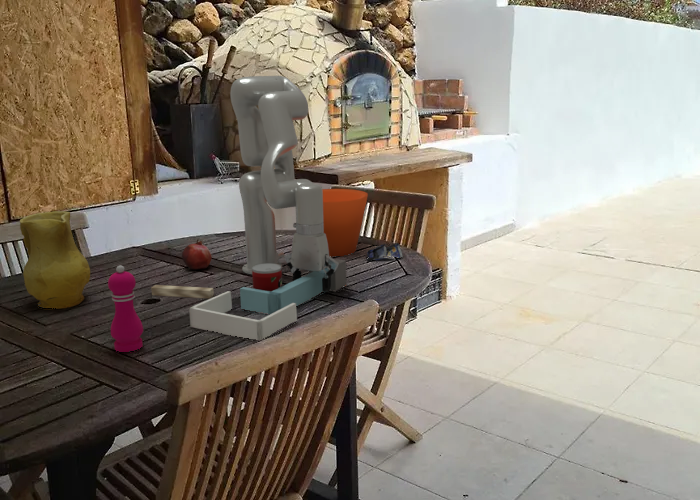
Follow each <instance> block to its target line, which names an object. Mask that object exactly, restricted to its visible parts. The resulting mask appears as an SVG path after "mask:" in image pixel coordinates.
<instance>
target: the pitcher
mask: <svg viewBox="0 0 700 500" xmlns="http://www.w3.org/2000/svg"><path fill="white" fill-rule="evenodd" d="M19 229H20V233H21V236H23V243H24V246H25V249H27V251H26V252H27V255H28V259H27V262H26V264H25V265H24V266H23V267H24V268H23V272H22V273H23V274H22V275H23V279H24V280H23V281H24V286H25V288H26V291H27V293H28V294H29V295H30V296H32V297H33V298H35V299H36V300H38V302H37V304H40V303H41V304H40V305H38V306H40V307H43V308H52V309H51V310H55V308H56V310H57V309H61V310H62V309H67V308H72V307H74V306H78V305H79V304H80V305H81V303H82V302H84V300H85V298H86V296H85V295H84V294H83V292H84V288H85V287H86V285H88V283H89V282H90V279H91V267H90V265H89V262H88V259H86V257H85V256H84V255H83V254H82V252H81V251H80V250H79V248H78V247H77V245H76V242H75V240H74V236H73V231H72V228H71V212H70V211H65V210H64V211H60V210H58V211H47V212H38V213H34V214H29V215H27V216H25V217H23V218H21V219H20V220H19ZM38 306H37V307H38ZM53 308H54V309H53Z"/></svg>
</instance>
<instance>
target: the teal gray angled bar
mask: <svg viewBox="0 0 700 500" xmlns="http://www.w3.org/2000/svg"><path fill="white" fill-rule="evenodd" d="M333 259H334V260H335V261H337V262H338V263H339V265H338V267H337V269H336V272H335V273H334V274H333V275H332V276H331V287H330V289H331V290H337V289H339V288H341V287H343V286H345V285H346V286H347V260H344V259H337V258H333ZM329 269H331V264H329ZM326 273H327V272H326ZM322 278H324V276H323V275H322V273H321V272H320V271H318V272H316V271H309V270H308V274H306V275H304V276H301V278H299V279H297V280H295V281H293V280H292V281H290V282H288V283H286V284H284V285H282V287H280V288H278V289H276V290H273V291H271V292H270V291H264V290H258V289H253V287H252V288H251V287H248V286H247V287H246V286H243V287H241V288H239V295H240V310H241V309H245V310H250V311H256V312H263V313H268V314H272V313H274V312H276V311H278V310H280V309H282V308H284V307H286V306H288V305H290V304H292V303H296V306H298V305H299V304H301V303H303V302H305V301H307V300H309V299H311V298H312V297H314V296H316V295H318V294H319V293H321V292H322ZM311 300H312V299H311ZM309 301H310V300H309ZM307 302H308V301H307ZM305 303H306V302H305ZM303 304H304V303H303ZM298 307H299V306H298Z"/></svg>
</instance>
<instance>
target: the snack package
mask: <svg viewBox="0 0 700 500" xmlns="http://www.w3.org/2000/svg"><path fill="white" fill-rule="evenodd" d="M386 245H387V244H385V243H383V244H381V245H379V246H377V247H375V248H372V249H369V250H368V251H367V253H366V254H367V255H366V257H365V259H366V260H367V262H368V261H370V262H373V261H372V260H376V261H380V260H390V259H391V258H388V257H387V258H383V256H394V257H398V258H400V257H402V258H403V257H404V255H403V252H402V249H401V246H400V243H398V242H395V243H394V244H392V245H390V246H386ZM368 257H369V258H368ZM367 258H368V259H367Z"/></svg>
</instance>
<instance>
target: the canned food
mask: <svg viewBox="0 0 700 500" xmlns="http://www.w3.org/2000/svg"><path fill="white" fill-rule="evenodd" d="M282 270H283V268H282V269H281V266H280V265H277V264H259V265H256V266H253V267H252V274H251V275H252V288H253V289H258V290H264V291H270V292H271V291H273V290H276V289H278V288H280V287H282V286H283V273H282V272H283V271H282Z"/></svg>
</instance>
